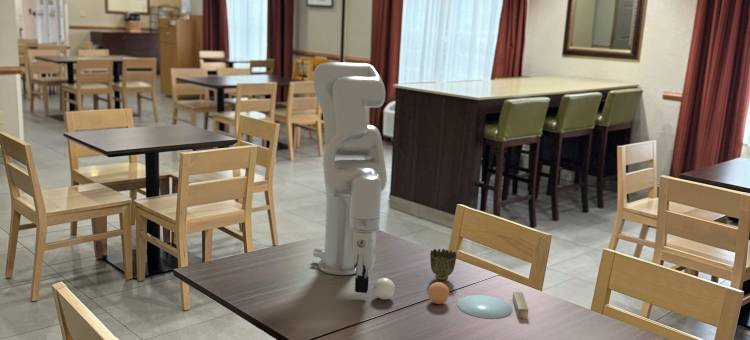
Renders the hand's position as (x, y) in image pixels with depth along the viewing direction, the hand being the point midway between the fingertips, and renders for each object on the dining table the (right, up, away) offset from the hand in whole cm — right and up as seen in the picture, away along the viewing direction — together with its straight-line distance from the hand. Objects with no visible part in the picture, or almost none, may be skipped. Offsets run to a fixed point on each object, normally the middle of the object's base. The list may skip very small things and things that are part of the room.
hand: (361, 291), depth 178 cm
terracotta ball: (+20, 0, -1) cm, 20 cm away
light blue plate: (+32, -4, -1) cm, 32 cm away
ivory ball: (+6, +1, 0) cm, 6 cm away
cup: (+22, 0, +16) cm, 27 cm away
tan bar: (+41, -4, -1) cm, 41 cm away
